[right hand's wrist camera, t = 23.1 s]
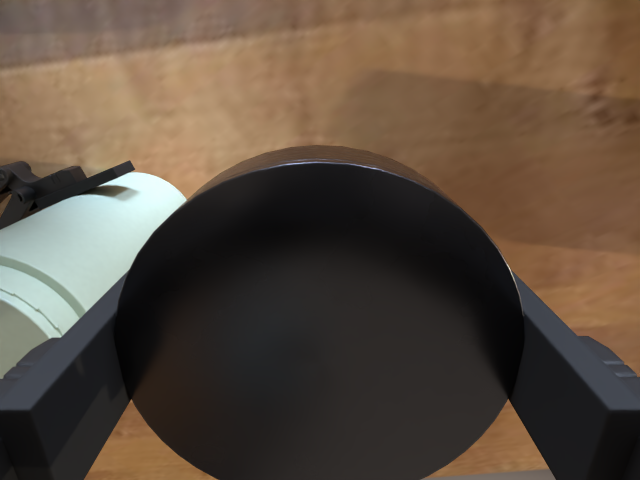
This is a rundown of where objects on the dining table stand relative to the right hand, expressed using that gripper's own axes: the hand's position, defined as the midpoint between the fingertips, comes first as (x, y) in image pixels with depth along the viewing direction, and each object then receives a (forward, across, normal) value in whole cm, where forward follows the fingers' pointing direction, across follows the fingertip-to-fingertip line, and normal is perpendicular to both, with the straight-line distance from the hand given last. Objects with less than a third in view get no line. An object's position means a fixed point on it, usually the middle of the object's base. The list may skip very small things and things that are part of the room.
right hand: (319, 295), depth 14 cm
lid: (-3, 0, 0) cm, 3 cm away
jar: (+23, +16, +6) cm, 29 cm away
